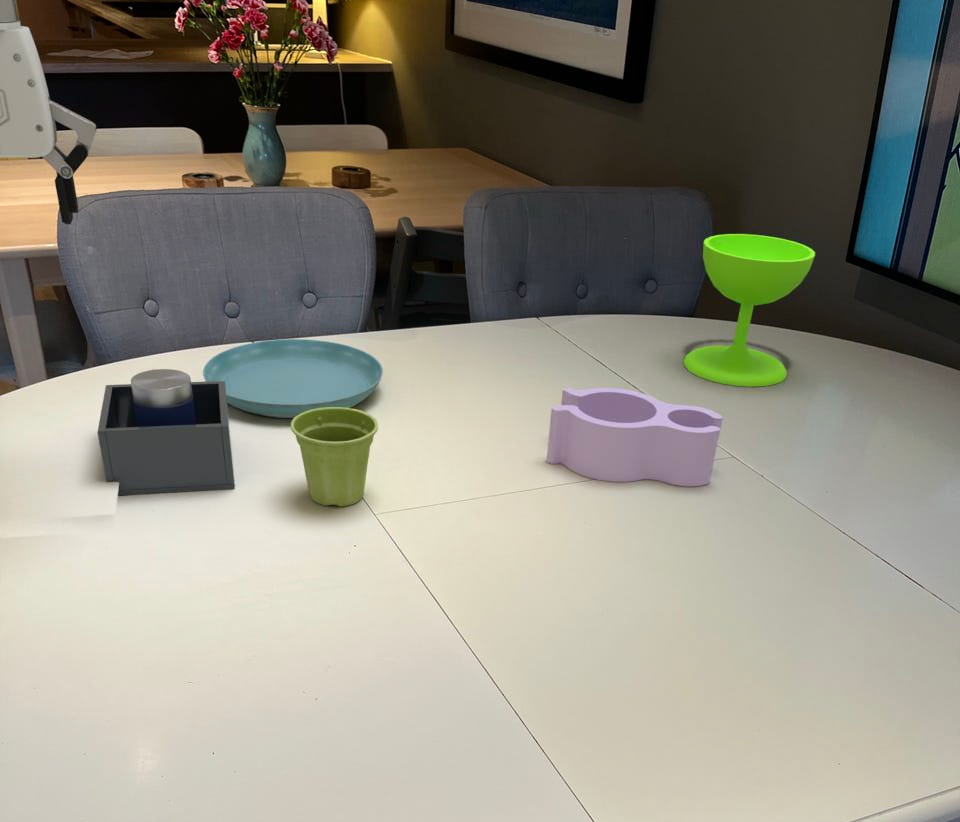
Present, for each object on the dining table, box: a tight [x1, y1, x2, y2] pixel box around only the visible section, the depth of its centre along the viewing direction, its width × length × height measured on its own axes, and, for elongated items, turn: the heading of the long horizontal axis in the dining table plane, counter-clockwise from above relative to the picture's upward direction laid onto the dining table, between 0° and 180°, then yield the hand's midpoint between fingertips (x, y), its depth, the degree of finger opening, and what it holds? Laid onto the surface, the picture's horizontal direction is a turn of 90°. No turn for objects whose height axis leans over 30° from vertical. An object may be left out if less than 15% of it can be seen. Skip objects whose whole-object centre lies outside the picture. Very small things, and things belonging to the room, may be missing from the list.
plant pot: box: [290, 407, 379, 507], centre depth 110 cm, size 9×9×9 cm
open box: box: [97, 381, 236, 496], centre depth 114 cm, size 14×14×8 cm
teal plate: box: [202, 338, 384, 419], centre depth 136 cm, size 24×24×3 cm
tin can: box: [130, 368, 197, 427], centre depth 113 cm, size 6×6×10 cm
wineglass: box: [682, 233, 816, 388], centre depth 149 cm, size 16×16×18 cm
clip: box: [545, 387, 724, 488], centre depth 121 cm, size 20×12×7 cm, turn 74°
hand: (14, 221), depth 93 cm, fingers open, 9 cm apart
